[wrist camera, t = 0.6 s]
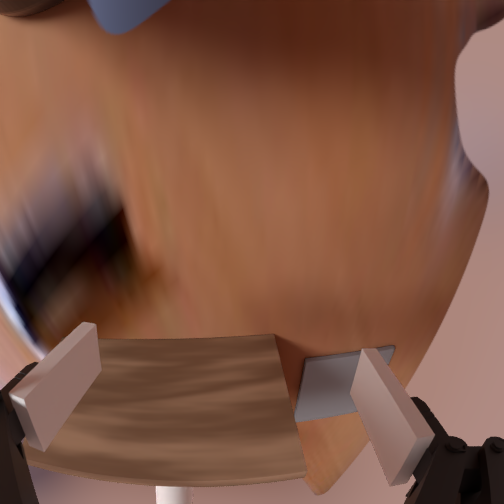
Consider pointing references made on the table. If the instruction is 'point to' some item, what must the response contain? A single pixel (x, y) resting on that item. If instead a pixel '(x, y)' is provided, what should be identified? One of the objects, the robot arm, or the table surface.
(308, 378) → the mat
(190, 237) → the table surface
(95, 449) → the rack
